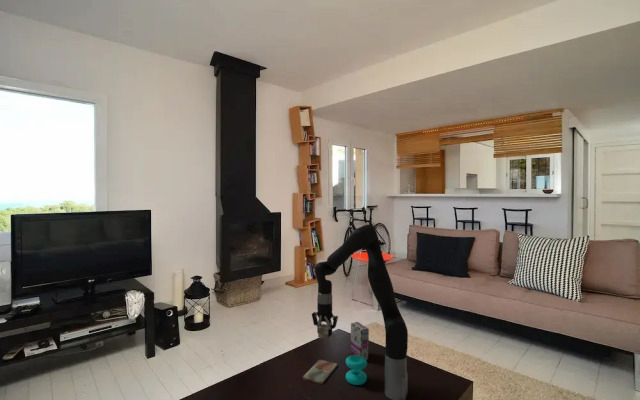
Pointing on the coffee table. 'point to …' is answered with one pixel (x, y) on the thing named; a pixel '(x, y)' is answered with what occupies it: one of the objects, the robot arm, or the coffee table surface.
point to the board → (320, 371)
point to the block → (323, 331)
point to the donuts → (356, 369)
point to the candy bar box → (359, 340)
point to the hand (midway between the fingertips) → (324, 334)
